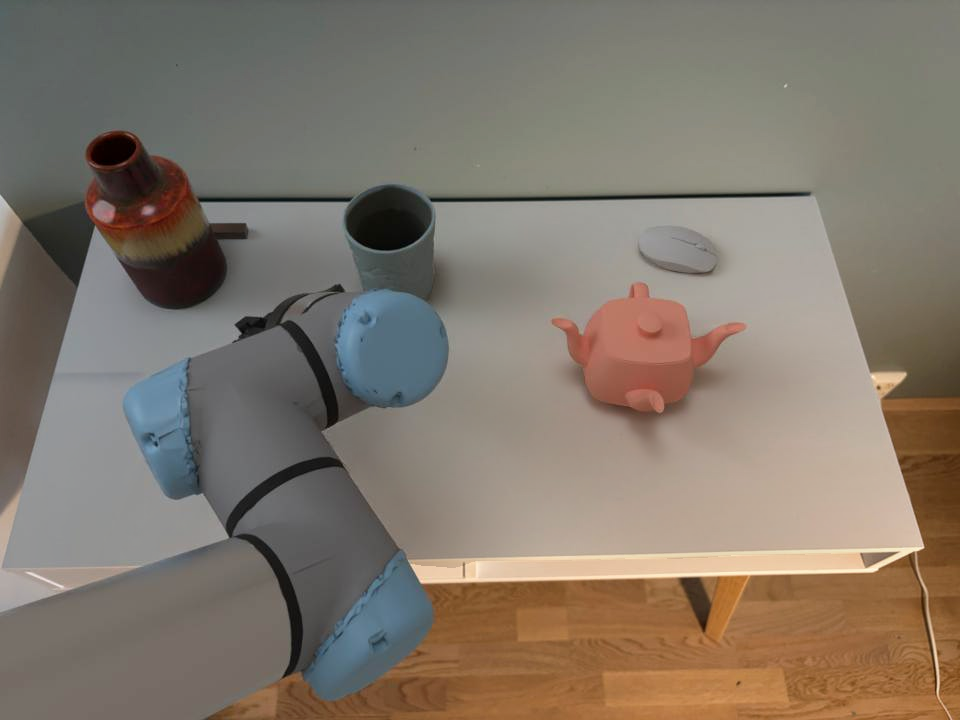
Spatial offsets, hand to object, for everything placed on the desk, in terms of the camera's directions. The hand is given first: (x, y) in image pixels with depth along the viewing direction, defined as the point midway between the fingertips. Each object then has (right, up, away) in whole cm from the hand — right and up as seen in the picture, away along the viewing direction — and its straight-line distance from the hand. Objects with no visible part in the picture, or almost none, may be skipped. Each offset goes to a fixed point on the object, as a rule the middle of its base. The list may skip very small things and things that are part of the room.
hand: (247, 330), depth 79 cm
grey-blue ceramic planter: (+15, +6, +11) cm, 20 cm away
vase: (-12, +7, +12) cm, 18 cm away
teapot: (+42, -6, +5) cm, 43 cm away
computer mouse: (+50, +10, +14) cm, 52 cm away
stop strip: (-12, +13, +15) cm, 23 cm away
